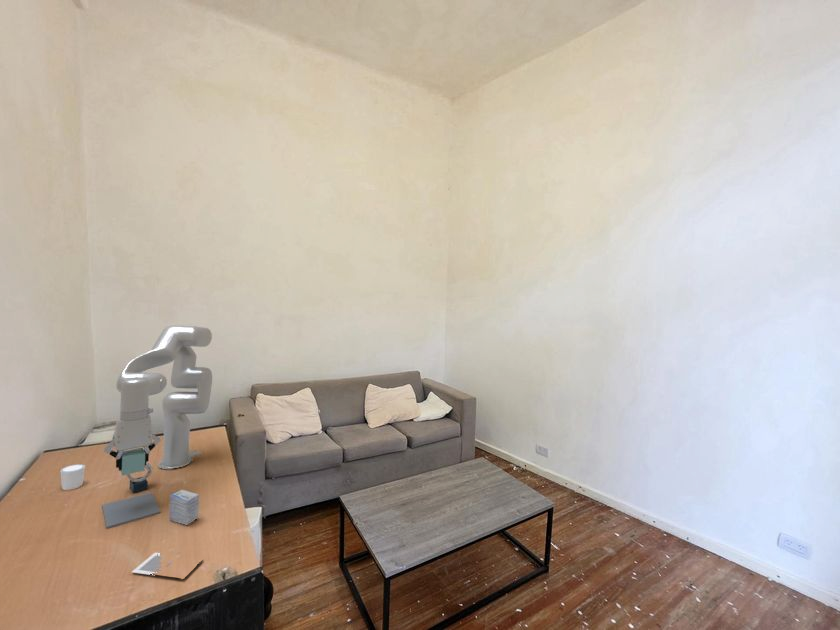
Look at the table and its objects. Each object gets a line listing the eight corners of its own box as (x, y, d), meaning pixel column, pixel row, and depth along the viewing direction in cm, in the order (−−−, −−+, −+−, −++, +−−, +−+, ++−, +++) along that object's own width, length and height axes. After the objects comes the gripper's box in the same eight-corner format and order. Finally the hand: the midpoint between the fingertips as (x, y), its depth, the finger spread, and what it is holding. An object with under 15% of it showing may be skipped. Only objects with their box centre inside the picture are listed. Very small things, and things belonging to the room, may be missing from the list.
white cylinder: (72, 491, 135) (73, 472, 135) (54, 490, 135) (54, 471, 135) (89, 482, 142) (90, 464, 142) (72, 481, 142) (72, 463, 142)
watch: (153, 487, 141) (154, 459, 141) (127, 495, 135) (128, 465, 135) (149, 482, 145) (150, 454, 145) (123, 489, 139) (124, 460, 138)
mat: (151, 493, 137) (151, 492, 137) (160, 513, 126) (160, 511, 126) (102, 506, 127) (102, 504, 127) (106, 528, 116) (106, 526, 116)
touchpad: (183, 583, 97) (184, 575, 97) (131, 576, 98) (131, 568, 98) (203, 562, 105) (204, 555, 105) (154, 556, 106) (155, 548, 106)
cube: (141, 464, 130) (142, 447, 130) (144, 470, 126) (145, 453, 126) (119, 468, 126) (120, 451, 126) (122, 475, 122) (122, 457, 122)
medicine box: (198, 519, 124) (199, 494, 123) (186, 526, 120) (187, 500, 119) (181, 513, 126) (182, 488, 126) (168, 520, 122) (169, 495, 122)
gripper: (162, 407, 134) (160, 456, 135) (99, 415, 122) (98, 469, 123) (166, 413, 129) (164, 463, 129) (101, 422, 117) (99, 478, 117)
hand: (132, 465), depth 126 cm, fingers closed on cube, 5 cm apart
